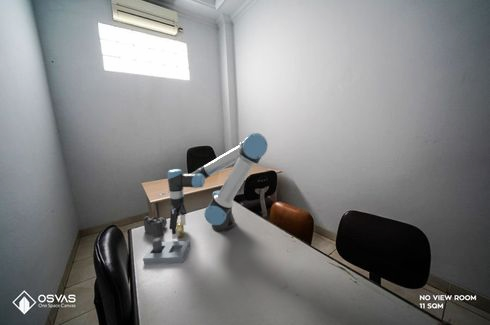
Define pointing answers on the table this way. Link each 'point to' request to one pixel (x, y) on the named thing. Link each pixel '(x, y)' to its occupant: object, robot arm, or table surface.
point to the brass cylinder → (180, 229)
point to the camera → (154, 225)
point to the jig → (166, 252)
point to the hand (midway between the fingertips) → (179, 231)
